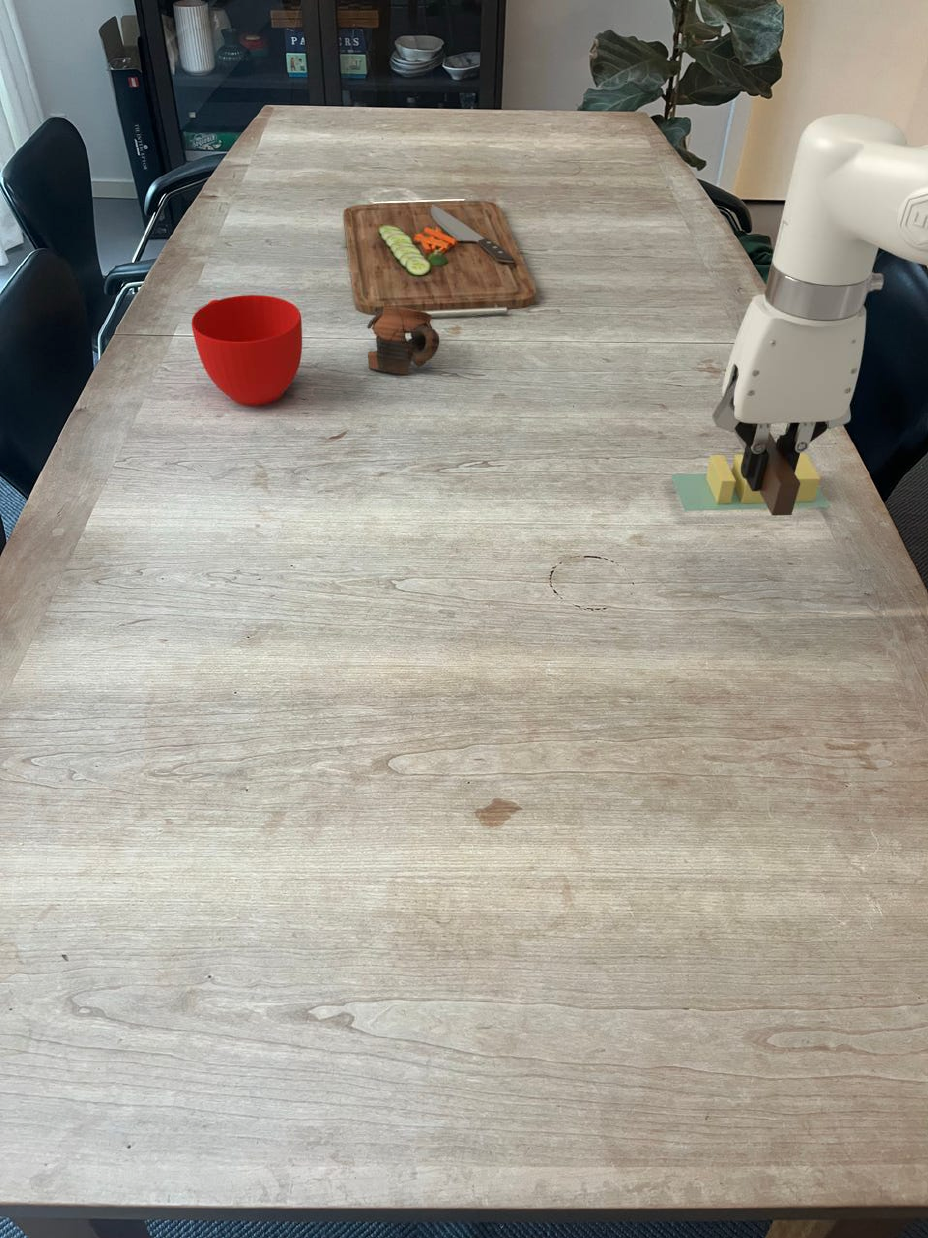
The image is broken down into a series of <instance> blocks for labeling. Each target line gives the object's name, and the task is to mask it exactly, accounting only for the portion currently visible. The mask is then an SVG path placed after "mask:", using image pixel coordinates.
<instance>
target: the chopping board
mask: <svg viewBox="0 0 928 1238" xmlns="http://www.w3.org/2000/svg"><path fill="white" fill-rule="evenodd" d="M342 215H343V225H344V235H345V241H346V249H347V257H348V264H349V265H348V266H349V271H350V272H349V273H350V280H351V288H352V296H353V297H352V298H353V305H354V307H355V309H356V310H357V311H359V312H360V313H364V314H368V315H376V313H377V312H376V311H375V309H376V307H381V306H385V307H396V308H407V309H413V310H418V311H422V312H426V313H428V314H430V315H431V316H432V317H448V316H469V315H470V316H471V315H492V314H494V315H495V314H508V309H509V310H510V309H522V308H527V307H529V306H532V305H534V303H536V301H537V287H536V286H535V283H534V281H533V279H532V276H531V274H530V272H529V270H528V267H527V266H526V263H525V261H524V258H523V257H522V255H521V251H520V250H519V248H518V246H517V243H516V241H515V239H514V237H513V233H512V232H511V230H510V228H509V225H508V223H507V221H506V218H505V216H504V214H503V212H502V210H501V208H500V206H499V205H498V204H497V203H494V202H492V201H485V200H466V199H465V198H464V197H461V198H457V197H456V198H431V199H430V198H429V199H428V198H427V199H401V200H400V199H399V200H398V199H397V200H376V201H375V200H374V201H372V204H370V203H369V204H356V205H351V206H349V207H346V208H345V209H344V210H343V212H342Z"/></svg>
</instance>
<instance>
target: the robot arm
mask: <svg viewBox="0 0 928 1238" xmlns="http://www.w3.org/2000/svg"><path fill="white" fill-rule="evenodd" d="M779 224H780V225H779V227H778V228H779V229H778V232H777V237H776V242H775V247H774V251H773V255H772V259H771V263H770V266H769V272H768V276H767V280H766V285H765V289H764V293H761V294H760V293H759V294H756V295H754V296H753V298H752V299H751V302H750V303H749V305H748V308H747V309H746V312H745V314H744V317H743V319H742V322H741V324H740V326H739V329H738V331H737V334H736V337H735V340H734V343H733V346H732V350H731V352H730V356H729V359H728V363H727V366H726V369H725V374H724V377H723V381H722V388H721V394H722V398H723V399H721V401H720V402H719V404H718V405H717V407H716V409H715V410H714V411H713V412H712V415H711V419H712V421H713V422H714V424H715V426H716V427H717V428H718V429H722V430H724V431H727V432H730V433H734V434H735V433H737V434H738V435H739V436H740V437H741V439H742V440H743V441H744V442H745V443H746V447H745V451H743V454H742V455H743V460H742V464H741V475H742V477H743V478H746V480H747V482H748V484H749V486H750V488H751V490H752V491H759V490H760V488H761V485H762V481H763V477H764V473H765V469H766V465H767V462H768V460H769V453H768V452H767V450H766V446H767V440H768V436H769V432H770V433H771V427H772V424H786V428H785V431H784V434H780V435H779V437H778V438H777V439H776V443H777V445H778V447H779V448H780V450H781V452H782V453H783V455H784V457H785V458H786V460H787V461H788V463H789V465H790V466H791V468H792V470H793V471H794V473H795V471H796V467H797V463H798V460H799V456H800V453H805V452H806V451H807V450H808V449H809V447H810V443H812V442H813V441H814V440H816V439H817V438H819V437H820V436H821V435H823V434H824V433H825V432H826V431H827V430H831V429H834V428H837V427H841V426H843V425H846V424H848V423H849V422H850V421H851V419H852V415H851V405H850V404H851V401H852V399H853V396H854V392H855V389H856V386H857V381H858V377H859V374H860V373H859V372H860V369H861V363H862V357H863V353H864V352H863V351H864V345H865V336H866V325H867V324H866V323H867V309H866V307H865V302H866V299H867V296H868V294H870V293H872V292H879V291H881V290H882V288H883V286H884V279H885V278H884V274H882V273H880V272H879V273H875V272H874V271H873V267H874V266H875V265H874V264H875V262H876V258H877V255H878V251H879V249H881V250H884V251H886V252H888V253H890V254H892V255H894V256H896V257H898V258H901V259H903V260H905V261H908V262H911V263H915V264H917V265H918V264H919V265H924V266H928V144H925V145H921V146H916V147H915V146H914V147H911V146H908V142H907V137H906V134H905V133H904V131H903V130H902V129H901V128H900V126H898V125H896V124H895V123H893V122H891V121H888V120H887V119H884V118H881V117H876V116H873V115H868V114H867V115H866V114H858V113H833V114H828V115H824V116H823V115H822V116H819V117H818V118H816V119H814V120H812V121H811V122H810V123H809V124H808V125H807V126H806V128H805V129H804V130H803V132H802V134H801V135H800V139H799V142H798V146H797V150H796V154H795V158H794V162H793V165H792V171H791V175H790V180H789V184H788V189H787V192H786V197H785V202H784V206H783V211H782V214H781V220H780V223H779Z"/></svg>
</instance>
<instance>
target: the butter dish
mask: <svg viewBox="0 0 928 1238" xmlns="http://www.w3.org/2000/svg"><path fill="white" fill-rule="evenodd" d="M669 476H670V478H671V481H672V483H673V486H674V488H675V491H676V493H677V496H678V498H679V501H680V503H681V506H682V508H683V511H684V512H695V511H696V512H697V511H701V512H702V511H734V510H735V511H738V510H769V509H768V507H767V505H766V503H741V501H740V499H739V497H738V494H737V492H736V490H735V488H734V490H733V494H732V499H731V503H730V504H717V502H716V500H715V498H714V495H713V493H712V491H711V489H710V486H709V484H708V482H707V479H706V476H707V472H706V473H705V472H704V473H673V474H672V473H671V474H670V475H669ZM819 486H820V485H819ZM819 486H818V489H817V493H816V496H815V499H814V502H795V504H794V508H793V509H807V508H808V509H809V508H811V509H813V508H831V505H830V503H829V502H828V500H827V499H826V497H825V495H824V493H823V492H822V490H821V487H819Z"/></svg>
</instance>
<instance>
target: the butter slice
mask: <svg viewBox="0 0 928 1238" xmlns="http://www.w3.org/2000/svg"><path fill="white" fill-rule="evenodd" d="M731 470H732V469H731V467H730V466H729V464H728V461H727V459H726V457H725V455H723V454H722V455H721V454H719V455H717V454H716V455H710V457H709V462H708V467H707V472H706V473H707V476H706V479H707V482H708V484H709V486H710V489H711V491H712V493H713V495H714V498H715V500H716V502H717V504H730V503H731V499H732V494H733V490H734V486H735V481H736V480H735V478H734V476H733V474H732V472H731Z"/></svg>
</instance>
